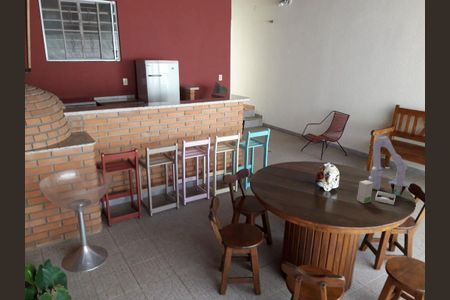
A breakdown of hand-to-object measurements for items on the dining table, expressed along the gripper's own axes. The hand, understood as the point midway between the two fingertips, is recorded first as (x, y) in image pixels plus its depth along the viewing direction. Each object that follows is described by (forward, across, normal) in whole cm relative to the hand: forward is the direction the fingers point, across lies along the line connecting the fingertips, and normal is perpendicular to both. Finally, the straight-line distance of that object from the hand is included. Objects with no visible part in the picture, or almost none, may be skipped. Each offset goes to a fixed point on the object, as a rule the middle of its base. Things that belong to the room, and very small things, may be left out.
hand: (396, 193), depth 248 cm
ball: (+2, 0, 0) cm, 2 cm away
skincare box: (+2, -21, -24) cm, 32 cm away
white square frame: (+2, -7, -12) cm, 14 cm away
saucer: (+2, -7, -12) cm, 14 cm away
